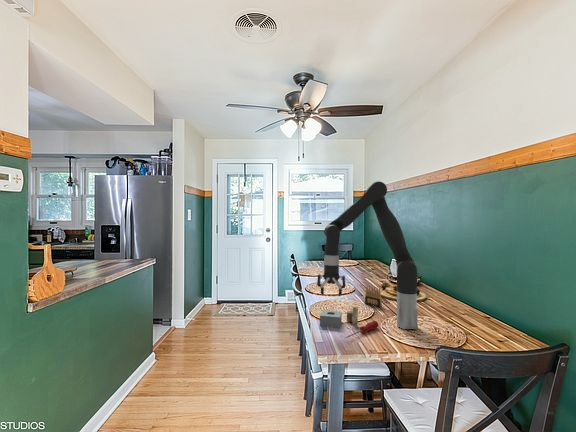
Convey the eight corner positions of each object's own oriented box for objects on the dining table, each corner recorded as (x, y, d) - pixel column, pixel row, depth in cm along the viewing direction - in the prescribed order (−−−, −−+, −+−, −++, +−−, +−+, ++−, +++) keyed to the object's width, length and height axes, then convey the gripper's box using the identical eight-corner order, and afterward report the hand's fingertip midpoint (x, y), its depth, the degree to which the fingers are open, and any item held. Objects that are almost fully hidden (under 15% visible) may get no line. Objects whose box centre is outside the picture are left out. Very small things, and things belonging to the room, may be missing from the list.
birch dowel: (357, 324, 152) (357, 306, 152) (357, 325, 149) (357, 307, 149) (352, 323, 152) (352, 306, 152) (352, 325, 150) (352, 307, 150)
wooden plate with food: (368, 293, 217) (368, 281, 217) (400, 288, 230) (400, 277, 230) (401, 305, 188) (402, 292, 188) (436, 299, 201) (437, 287, 201)
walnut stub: (356, 319, 158) (356, 311, 158) (355, 322, 154) (355, 314, 154) (346, 319, 159) (346, 310, 159) (346, 322, 155) (346, 313, 155)
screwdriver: (342, 340, 131) (342, 332, 131) (372, 326, 149) (372, 319, 149) (349, 342, 129) (349, 334, 129) (379, 328, 146) (379, 321, 146)
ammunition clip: (381, 307, 182) (381, 287, 182) (380, 307, 180) (380, 287, 181) (366, 303, 190) (366, 284, 190) (364, 303, 188) (364, 284, 188)
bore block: (341, 320, 156) (341, 311, 156) (340, 327, 147) (340, 317, 147) (322, 319, 159) (322, 309, 159) (319, 325, 149) (319, 315, 149)
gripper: (346, 263, 155) (345, 294, 155) (318, 262, 158) (318, 292, 158) (345, 265, 147) (344, 298, 147) (316, 264, 151) (316, 296, 151)
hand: (331, 295), depth 153 cm, fingers open, 8 cm apart
